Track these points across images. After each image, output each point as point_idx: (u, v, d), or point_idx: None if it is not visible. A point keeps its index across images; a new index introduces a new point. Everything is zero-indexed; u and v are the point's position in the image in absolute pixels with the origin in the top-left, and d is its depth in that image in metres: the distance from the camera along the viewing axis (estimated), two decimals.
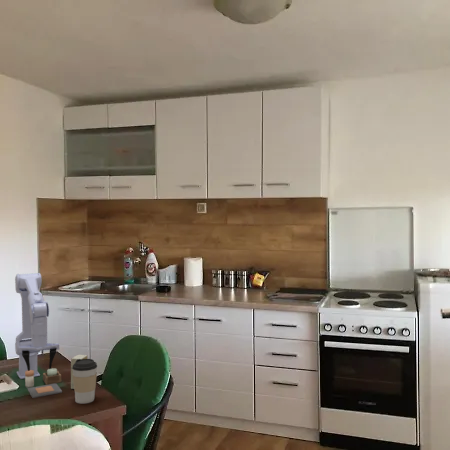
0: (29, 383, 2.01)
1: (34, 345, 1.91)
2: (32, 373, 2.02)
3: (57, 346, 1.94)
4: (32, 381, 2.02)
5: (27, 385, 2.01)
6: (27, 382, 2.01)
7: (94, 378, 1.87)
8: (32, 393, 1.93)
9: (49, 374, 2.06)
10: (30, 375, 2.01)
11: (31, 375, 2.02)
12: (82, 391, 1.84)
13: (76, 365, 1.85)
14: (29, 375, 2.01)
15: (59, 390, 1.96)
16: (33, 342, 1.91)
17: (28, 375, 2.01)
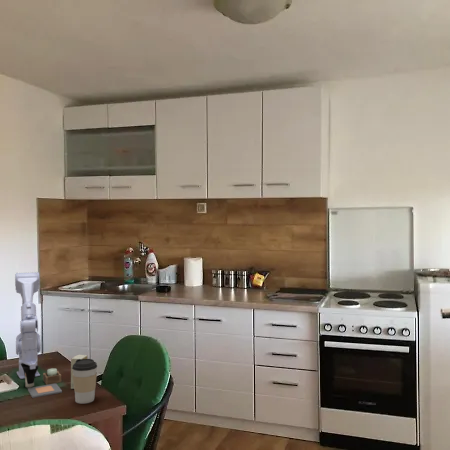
0: None
1: None
2: None
3: (29, 365, 1.96)
4: None
5: (27, 385, 2.01)
6: None
7: (94, 378, 1.87)
8: (32, 393, 1.93)
9: (49, 374, 2.06)
10: None
11: None
12: (82, 391, 1.84)
13: (76, 365, 1.85)
14: None
15: (59, 390, 1.96)
16: None
17: None
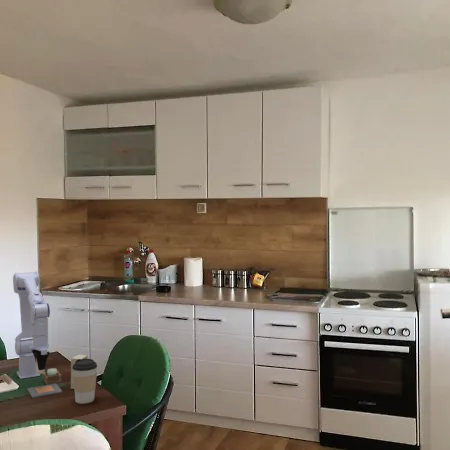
0: None
1: None
2: None
3: (41, 351, 1.92)
4: None
5: (38, 371, 1.97)
6: None
7: (94, 378, 1.87)
8: (32, 393, 1.93)
9: (49, 374, 2.06)
10: None
11: None
12: (82, 391, 1.84)
13: (76, 365, 1.85)
14: None
15: (59, 390, 1.96)
16: None
17: None
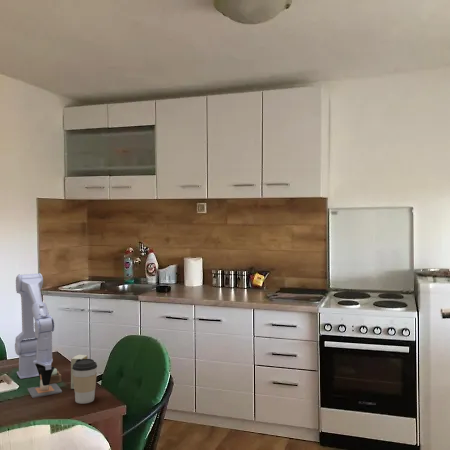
0: (44, 386, 1.96)
1: None
2: None
3: (45, 366, 1.91)
4: None
5: (42, 388, 1.96)
6: (42, 385, 1.96)
7: (94, 378, 1.87)
8: (32, 393, 1.93)
9: None
10: None
11: None
12: (82, 391, 1.84)
13: (76, 365, 1.85)
14: None
15: (59, 390, 1.96)
16: None
17: None
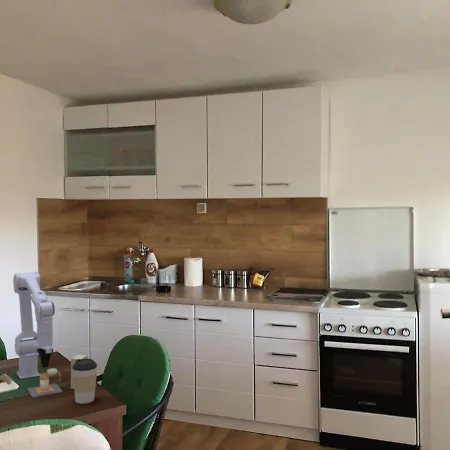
0: (44, 386, 1.96)
1: None
2: (47, 376, 1.96)
3: (45, 349, 1.91)
4: (47, 384, 1.96)
5: (42, 388, 1.96)
6: (42, 385, 1.96)
7: (94, 378, 1.87)
8: (32, 393, 1.93)
9: (49, 374, 2.06)
10: (45, 378, 1.96)
11: (46, 378, 1.96)
12: (82, 391, 1.84)
13: (76, 365, 1.85)
14: (44, 378, 1.95)
15: (59, 390, 1.96)
16: None
17: (43, 378, 1.95)
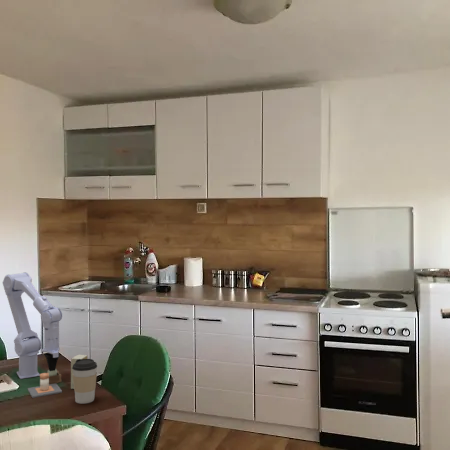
0: (44, 386, 1.96)
1: None
2: (47, 376, 1.96)
3: (53, 354, 2.02)
4: (47, 384, 1.96)
5: (42, 388, 1.96)
6: (42, 385, 1.96)
7: (94, 378, 1.87)
8: (32, 393, 1.93)
9: (49, 375, 2.06)
10: (45, 378, 1.96)
11: (46, 378, 1.96)
12: (82, 391, 1.84)
13: (76, 365, 1.85)
14: (44, 378, 1.96)
15: (59, 390, 1.96)
16: None
17: (43, 378, 1.96)
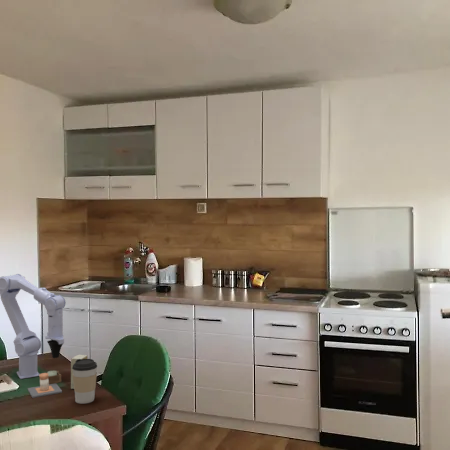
0: (43, 386, 1.96)
1: None
2: (46, 376, 1.96)
3: (58, 340, 2.04)
4: (46, 384, 1.96)
5: (41, 388, 1.96)
6: (41, 385, 1.96)
7: (94, 378, 1.87)
8: (32, 393, 1.93)
9: None
10: (44, 378, 1.95)
11: (45, 378, 1.96)
12: (82, 391, 1.84)
13: (76, 365, 1.85)
14: (43, 378, 1.95)
15: (59, 390, 1.96)
16: None
17: (42, 378, 1.95)
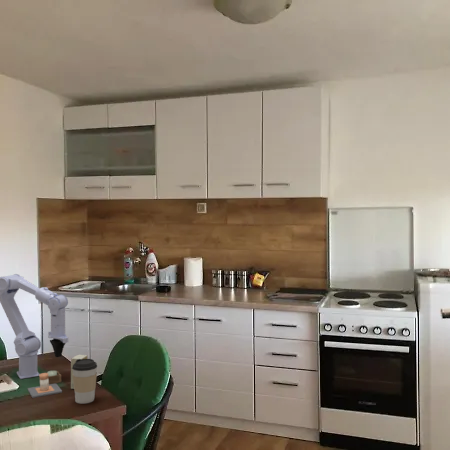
0: (43, 386, 1.96)
1: None
2: (46, 376, 1.96)
3: (63, 339, 2.06)
4: (46, 384, 1.96)
5: (41, 388, 1.96)
6: (41, 385, 1.96)
7: (94, 378, 1.87)
8: (32, 393, 1.93)
9: None
10: (44, 378, 1.95)
11: (45, 378, 1.96)
12: (82, 391, 1.84)
13: (76, 365, 1.85)
14: (43, 378, 1.95)
15: (59, 390, 1.96)
16: None
17: (42, 378, 1.95)
